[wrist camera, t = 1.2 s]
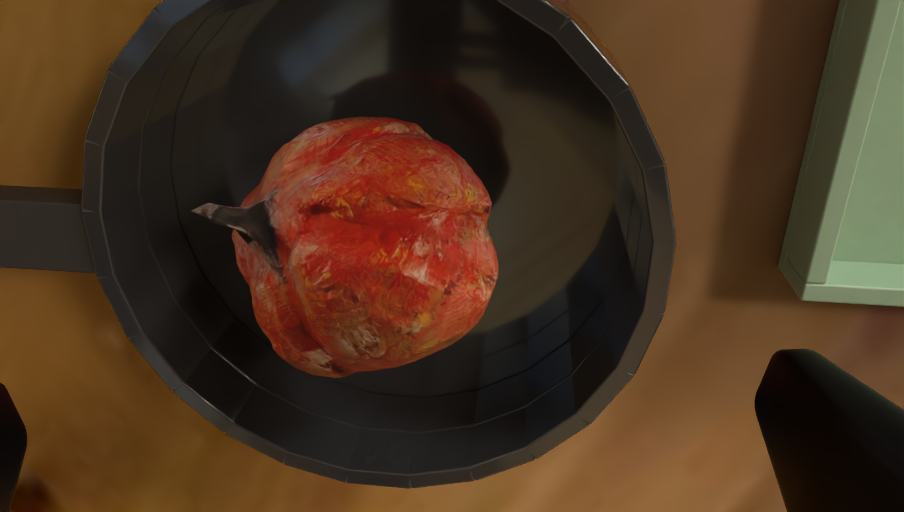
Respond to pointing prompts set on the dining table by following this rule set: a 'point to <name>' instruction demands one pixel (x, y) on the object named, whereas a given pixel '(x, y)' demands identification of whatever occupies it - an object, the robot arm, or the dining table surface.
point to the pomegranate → (364, 246)
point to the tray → (853, 167)
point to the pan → (444, 119)
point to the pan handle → (43, 229)
